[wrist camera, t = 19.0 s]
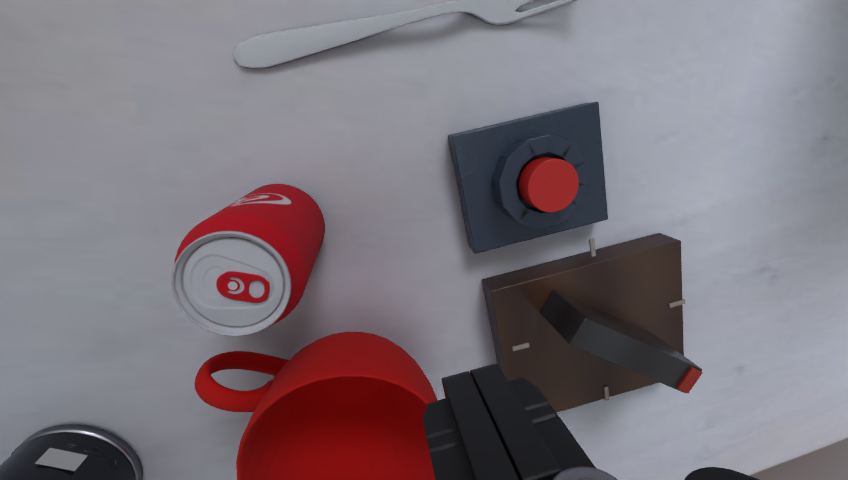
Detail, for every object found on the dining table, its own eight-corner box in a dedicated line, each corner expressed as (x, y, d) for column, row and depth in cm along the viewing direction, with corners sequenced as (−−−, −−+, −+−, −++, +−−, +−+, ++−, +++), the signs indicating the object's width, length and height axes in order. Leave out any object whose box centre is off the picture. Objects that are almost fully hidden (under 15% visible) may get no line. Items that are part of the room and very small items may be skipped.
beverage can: (244, 174, 29) (163, 206, 17) (332, 192, 30) (311, 234, 18) (234, 256, 30) (153, 336, 19) (318, 270, 31) (290, 354, 20)
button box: (469, 247, 32) (481, 261, 29) (447, 135, 30) (458, 136, 26) (596, 214, 33) (622, 224, 30) (586, 102, 31) (613, 100, 27)
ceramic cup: (274, 248, 30) (232, 304, 21) (456, 342, 35) (491, 424, 25) (198, 381, 32) (128, 488, 23) (379, 454, 37) (384, 569, 27)
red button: (522, 212, 29) (531, 217, 27) (515, 163, 28) (524, 165, 26) (569, 200, 29) (581, 205, 28) (563, 151, 28) (576, 153, 27)
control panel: (505, 406, 37) (515, 427, 35) (477, 256, 33) (486, 267, 30) (665, 360, 38) (686, 377, 36) (659, 209, 34) (683, 216, 31)
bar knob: (539, 312, 32) (570, 347, 27) (552, 288, 32) (587, 319, 27) (642, 357, 35) (689, 396, 30) (656, 336, 34) (705, 371, 29)
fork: (225, 31, 26) (215, 25, 24) (576, -44, 28) (590, -54, 26) (243, 83, 27) (234, 80, 25) (580, 8, 29) (594, 0, 27)
